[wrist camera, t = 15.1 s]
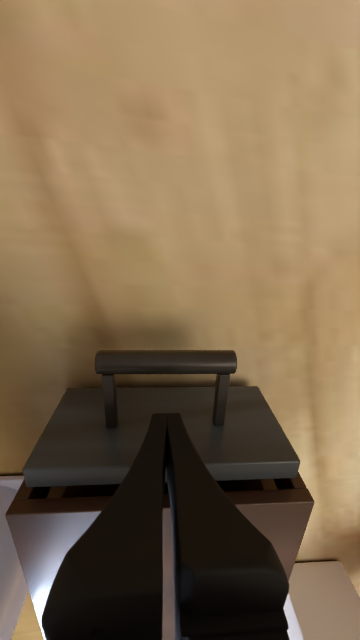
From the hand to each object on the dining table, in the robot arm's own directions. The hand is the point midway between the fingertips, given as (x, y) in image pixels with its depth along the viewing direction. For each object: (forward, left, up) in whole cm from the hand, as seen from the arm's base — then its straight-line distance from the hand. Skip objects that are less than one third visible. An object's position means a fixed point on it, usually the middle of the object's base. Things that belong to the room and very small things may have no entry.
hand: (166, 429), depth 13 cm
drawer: (-5, 0, -5) cm, 7 cm away
